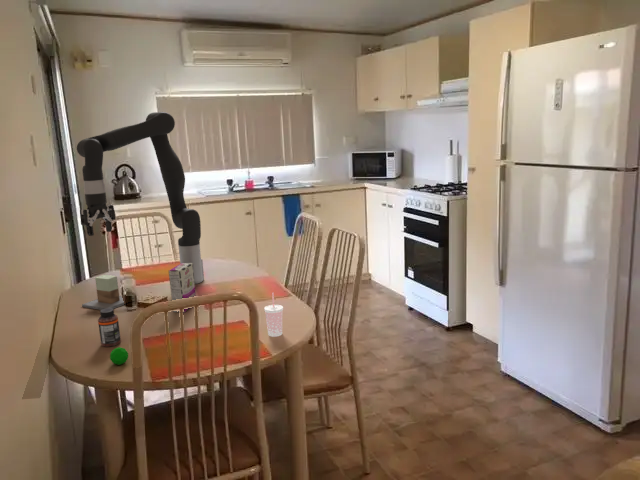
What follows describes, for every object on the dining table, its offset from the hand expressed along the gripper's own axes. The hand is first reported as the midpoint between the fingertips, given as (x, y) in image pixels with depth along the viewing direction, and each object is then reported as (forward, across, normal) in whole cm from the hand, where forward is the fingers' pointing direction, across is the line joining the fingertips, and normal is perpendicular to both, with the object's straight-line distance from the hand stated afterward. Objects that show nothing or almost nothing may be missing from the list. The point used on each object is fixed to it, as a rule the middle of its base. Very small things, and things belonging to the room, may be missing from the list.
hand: (100, 233), depth 207 cm
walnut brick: (+28, 0, 0) cm, 28 cm away
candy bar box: (+29, +7, -33) cm, 44 cm away
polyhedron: (+29, -40, -50) cm, 70 cm away
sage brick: (+22, 0, 0) cm, 22 cm away
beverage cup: (+29, -3, -80) cm, 85 cm away
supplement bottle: (+29, -30, -35) cm, 54 cm away
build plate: (+28, 0, 0) cm, 28 cm away
